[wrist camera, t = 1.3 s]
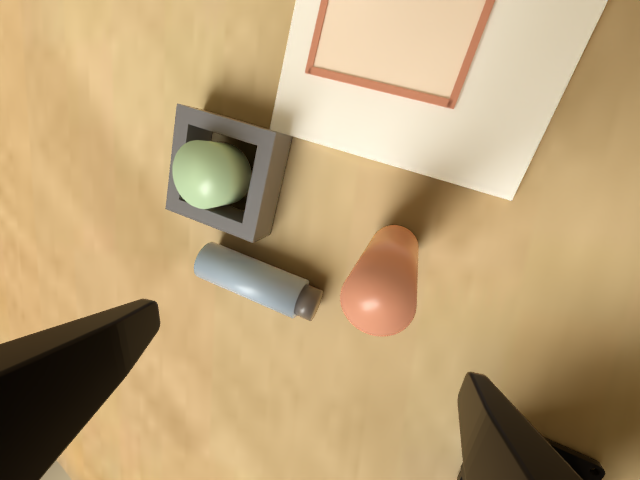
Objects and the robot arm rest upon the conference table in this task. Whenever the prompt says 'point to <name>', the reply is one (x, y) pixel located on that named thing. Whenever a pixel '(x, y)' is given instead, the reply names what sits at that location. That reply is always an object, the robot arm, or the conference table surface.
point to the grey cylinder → (258, 281)
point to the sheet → (432, 81)
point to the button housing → (263, 179)
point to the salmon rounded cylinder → (383, 283)
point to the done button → (211, 173)
